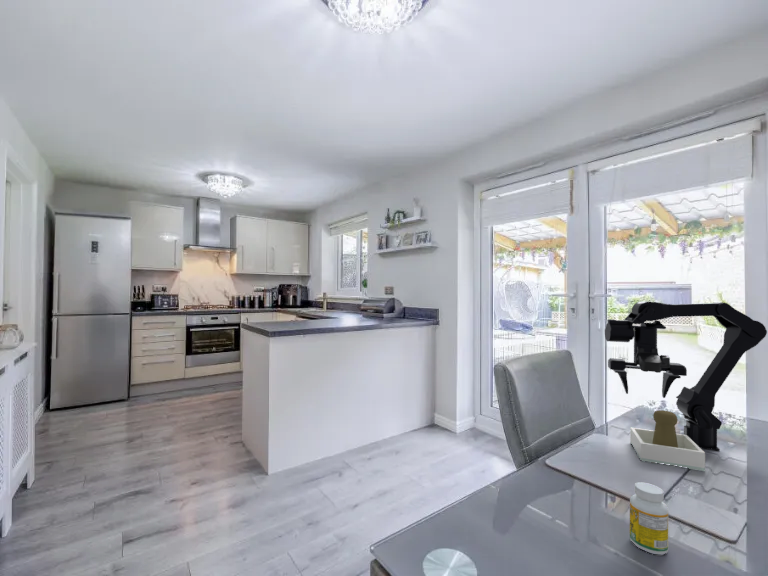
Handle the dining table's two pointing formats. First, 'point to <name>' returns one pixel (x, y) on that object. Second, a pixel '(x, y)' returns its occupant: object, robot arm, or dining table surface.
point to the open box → (667, 450)
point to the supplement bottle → (649, 518)
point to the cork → (665, 428)
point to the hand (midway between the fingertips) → (645, 395)
